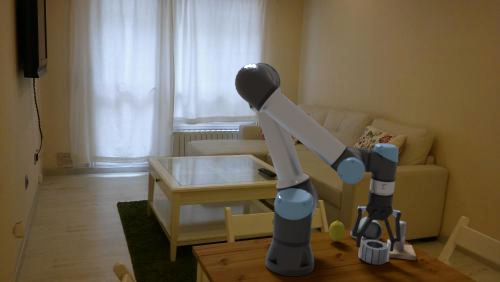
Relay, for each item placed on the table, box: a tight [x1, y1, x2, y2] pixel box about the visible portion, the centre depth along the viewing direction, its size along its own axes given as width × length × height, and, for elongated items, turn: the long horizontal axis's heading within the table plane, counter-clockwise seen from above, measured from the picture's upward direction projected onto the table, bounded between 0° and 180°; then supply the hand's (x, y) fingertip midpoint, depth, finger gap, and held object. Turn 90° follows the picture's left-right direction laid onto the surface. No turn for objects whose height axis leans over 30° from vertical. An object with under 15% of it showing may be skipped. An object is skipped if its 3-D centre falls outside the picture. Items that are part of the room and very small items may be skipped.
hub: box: [360, 239, 388, 266], centre depth 152 cm, size 8×8×5 cm
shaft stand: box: [381, 220, 417, 261], centre depth 158 cm, size 10×9×11 cm
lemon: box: [328, 220, 346, 243], centre depth 165 cm, size 6×6×8 cm
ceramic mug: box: [349, 216, 383, 241], centre depth 170 cm, size 11×8×8 cm
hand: (373, 258), depth 152 cm, fingers closed on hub, 8 cm apart
